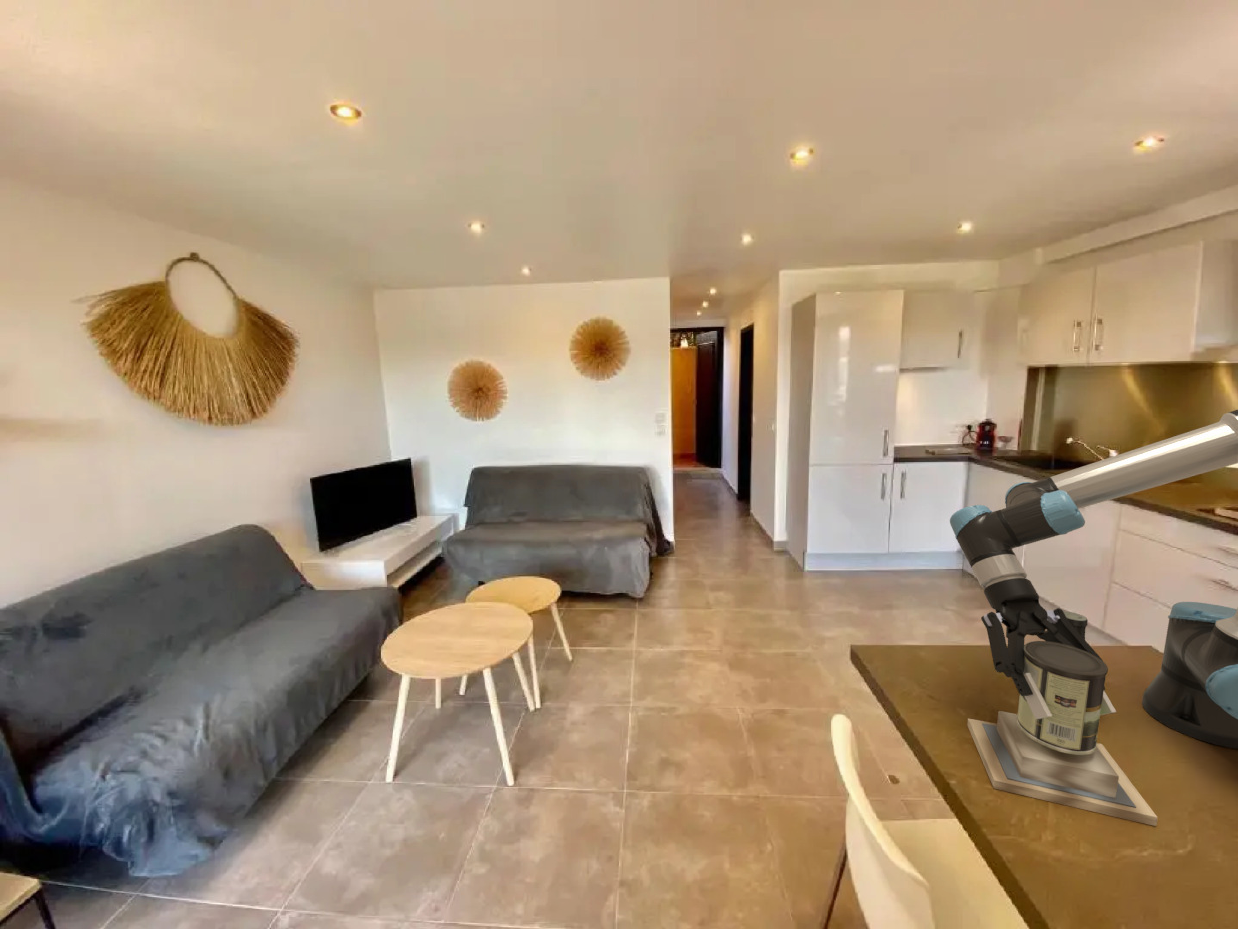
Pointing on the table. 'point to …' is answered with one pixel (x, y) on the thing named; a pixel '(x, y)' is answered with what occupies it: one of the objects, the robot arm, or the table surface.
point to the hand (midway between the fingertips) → (1075, 715)
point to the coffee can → (1064, 696)
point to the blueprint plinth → (1057, 795)
